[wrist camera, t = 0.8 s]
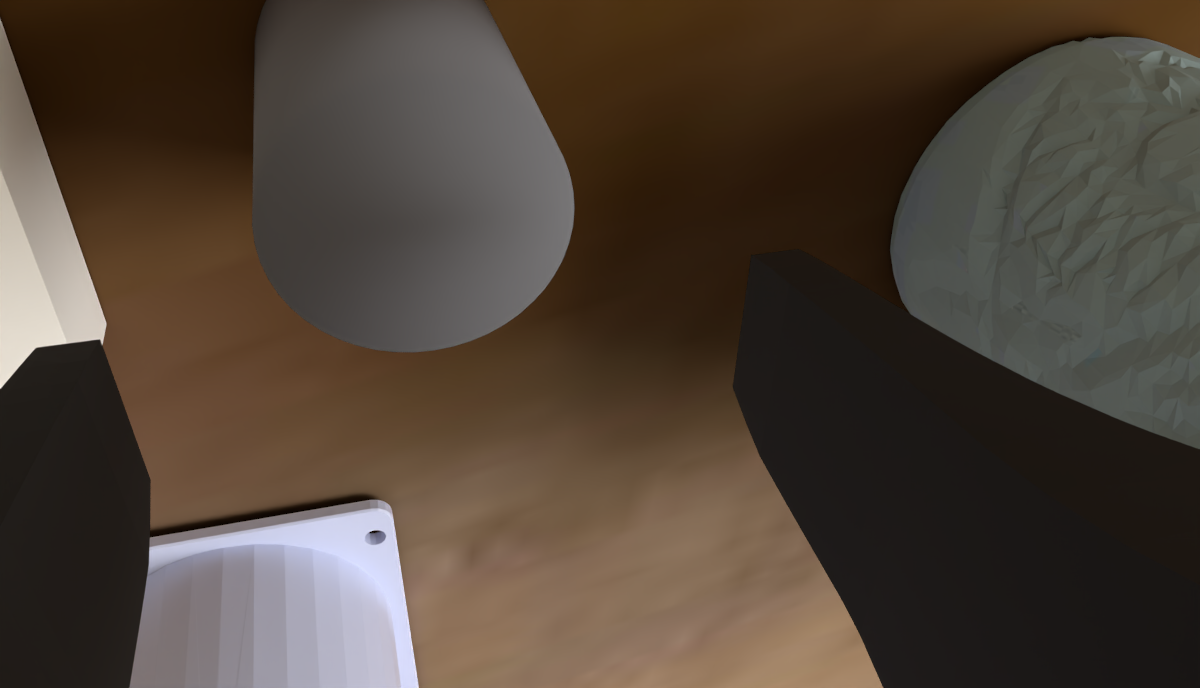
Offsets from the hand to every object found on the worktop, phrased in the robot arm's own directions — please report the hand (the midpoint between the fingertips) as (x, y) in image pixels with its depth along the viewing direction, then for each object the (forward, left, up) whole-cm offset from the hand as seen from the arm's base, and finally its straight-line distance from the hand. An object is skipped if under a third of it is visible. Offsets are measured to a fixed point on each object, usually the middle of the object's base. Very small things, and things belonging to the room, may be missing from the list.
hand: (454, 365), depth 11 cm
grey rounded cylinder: (0, 0, -9) cm, 9 cm away
